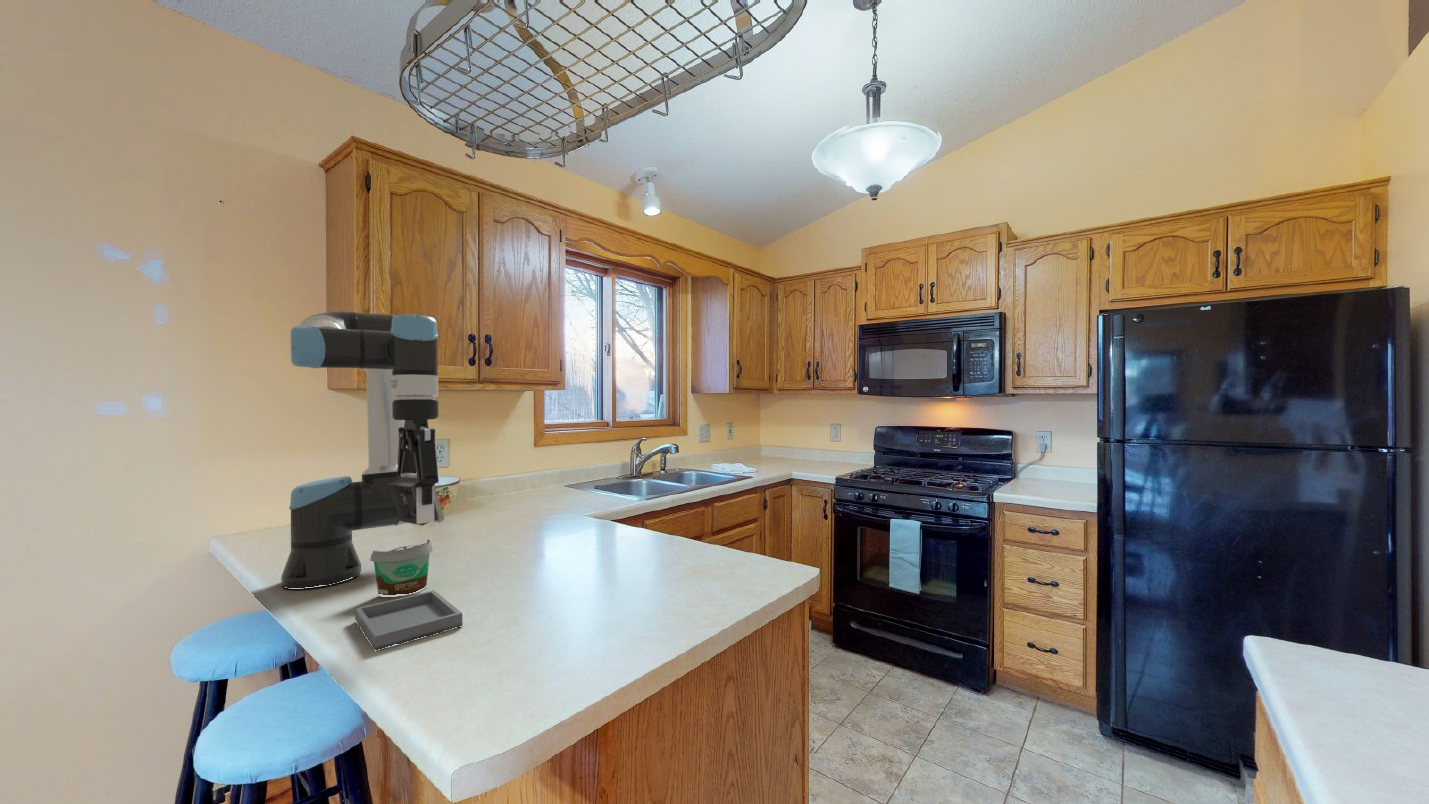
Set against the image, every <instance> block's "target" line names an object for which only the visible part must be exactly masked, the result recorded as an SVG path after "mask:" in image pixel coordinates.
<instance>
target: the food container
mask: <svg viewBox="0 0 1429 804" xmlns="http://www.w3.org/2000/svg"><path fill="white" fill-rule="evenodd" d="M433 551H434V548H433V543H432V542H431V539H429V538H427V541H426V543H425V542H424V543H422V544H418V545H417V544H416V545H407V546H401V547H397V548H394V549H390V550H388V551H383V550H382V551H381V550H380V551H378V550H372V553H371V555H370V559H369V561H371V562H373V565H374V572H375V580H376V587H377V589H376V590H377V595H378V594H383V595H396V594H409V593H413V592H416V591H418V590H420V589H422V588H424V587H425V586H426V585H427V584H428V574H429V565H430V564H429V563H430V562H429V561H430V554H431V553H432V552H433Z"/></svg>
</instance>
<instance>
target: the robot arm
mask: <svg viewBox="0 0 1429 804" xmlns="http://www.w3.org/2000/svg"><path fill="white" fill-rule="evenodd" d="M437 324H438V323H437V321H436V319H435V318H434V317H431V316H428V315H421V314H396V315H394V314H391V313H390V314H385V313H384V314H382V313H381V314H380V313H369V312H367V313H365V312H354V311H345V310H344V311H342V310H339V311H329V312H328V311H327V312H321V313H317V314H314V315H313V314H312V315H311V316H308V317H307V318H305V319H303V320H302V322H301V323H299V326H294V327H292V328H291V330H290V362H291V363H292V365H293V366H294V367H297V368H298V367H300V368H301V367H302V368H311V369H319V368H320V369H321V368H322V369H326V368H327V369H361V370H363V371H364V372H365V374H366V375H365V376H366V377H365V379H366V406H367V407H366V410H367V448H368V452H367V453H368V454H367V455H368V467H367V468H366V469H365V470H364V471H363V472H362V473H361V481H353V479H352V477H351V476H346V475H345V476H338V477H336V476H335V477H329V478H324V479H320V480H319V479H318V480H314V481H311V482H306V483H303V484H300V485H297V486H296V487H294V488H293V489H292V490H291V493H290V504H289V506H288V508H289V510H290V552H289V556H288V557H287V561H286V563H285V565H284V568H283V571H282V574H281V577H280V578H281V585H282V586H283V587H287V588H305V587H314V586H319V585H329V584H333V583H337V582H340V581H343V580H346V579H349V578H351V577H355V576H357V575H359V574H360V572H361V573H362V562H361V559H360V558H359V555H358V552H357V550H356V548H355V546H354V543H353V531H360V530H367V529H374V528H382V527H383V528H384V527H389V526H390V527H391V526H399V525H403V524H408V523H407V522H402V521H400V518H399V515H398V512H397V509H396V506H395V503H394V500H393V497H392V494H391V491H390V488H389V485H388V484H389V483H392V482H395V481H396V480H399V479H401V475H400V474H403V473H414V474H417V479H418V483H415V485H414V488H416V510H417V524H421V523H427V522H429V523H432V522H433V523H435V522H434V487H436V486H435V485H436V484H438V483H439V473H438V472H439V471H438V463H437V449H436V430H435V428H430V427H429V423H428V421H429V420H436V419H438V417H439V401H438V400H437V399H436V397H439V391H440V390H439V375H438V374H439V372H438V368H439V367H438V349H439V348H438V339H439V334H438V325H437ZM403 504H404V503H403ZM406 519H407V518H406ZM417 524H416V525H417ZM427 524H428V523H427ZM360 575H361V574H360ZM360 575H359V576H360ZM357 577H358V576H357ZM281 585H280V586H281ZM282 586H281V587H282ZM283 587H282V588H283Z"/></svg>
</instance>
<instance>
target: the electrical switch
mask: <svg viewBox="0 0 1429 804" xmlns="http://www.w3.org/2000/svg"><path fill="white" fill-rule="evenodd" d="M400 475H401V479H399V480H396V481H395V482H392V483H389V484H388V485H389V488H390V491H391V494H392V497H393V500H394V503H395V506H396V509H397V512H398V515H399V518H400V521H402V522H407V523H406V524H413V525H417V526H425V525H427V524H429V523H430V522H427V523H421V524H417V510H416V488H414V485H415V483H418V479H417V473H416V474H414V473H403V474H400ZM403 503H404V504H403ZM406 518H407V519H406ZM444 520H445V516H444V512H443V510H442V506H441V503H440V500H439V497H438V494H437V490H436V486H434V522H433V523H438V524H439V523H441V522H443V521H444Z"/></svg>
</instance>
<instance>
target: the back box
mask: <svg viewBox="0 0 1429 804" xmlns="http://www.w3.org/2000/svg"><path fill="white" fill-rule="evenodd" d="M354 611H355V612H354V615H355V617H354V621H355V620H356V621H357V623H358V625H359V627H361V629H362V631H363V632H364V634H365V636H366V637H367V638H368V640H369V641H370V643H371V644H372V646H373V648H374V649H375V650H378V649H382V648H385V647H388V646H392V645H394V644H401V643H404V642H407V641H411V640H414V639H417V638H421V637H424V636H429V637H431V636H430V635H432V636H434V635H433V634H436V633H439V634H441V633H440V632H443V631H445V630H449V629H452V628H455V627H460V626H462V627H463V612H462V611H460V610H459V609H458V608H457V607H455V605H453V604H452V603H450V601H448V600H447V599H445V597H444V596H442V595H440V594H439V593H438V592H437V591H436V590H434V589H433V590H429V591H424V592H419V593H416V594H412V595H408V596H403V597H398V598H393V599H390V600H386V601H382V602H377V603H372V604H369V605H365V606H360V607H357V608H354ZM358 625H357V626H358ZM359 627H358V628H359ZM460 628H461V627H460ZM362 631H361V632H362ZM443 633H444V632H443ZM364 634H363V635H364ZM436 635H437V634H436ZM365 636H364V637H365ZM366 637H365V638H366ZM368 640H367V641H368ZM411 642H412V641H411ZM370 643H369V644H370ZM404 644H405V643H404ZM401 645H402V644H401ZM372 646H371V647H372ZM373 648H372V649H373ZM374 649H373V650H374Z"/></svg>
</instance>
